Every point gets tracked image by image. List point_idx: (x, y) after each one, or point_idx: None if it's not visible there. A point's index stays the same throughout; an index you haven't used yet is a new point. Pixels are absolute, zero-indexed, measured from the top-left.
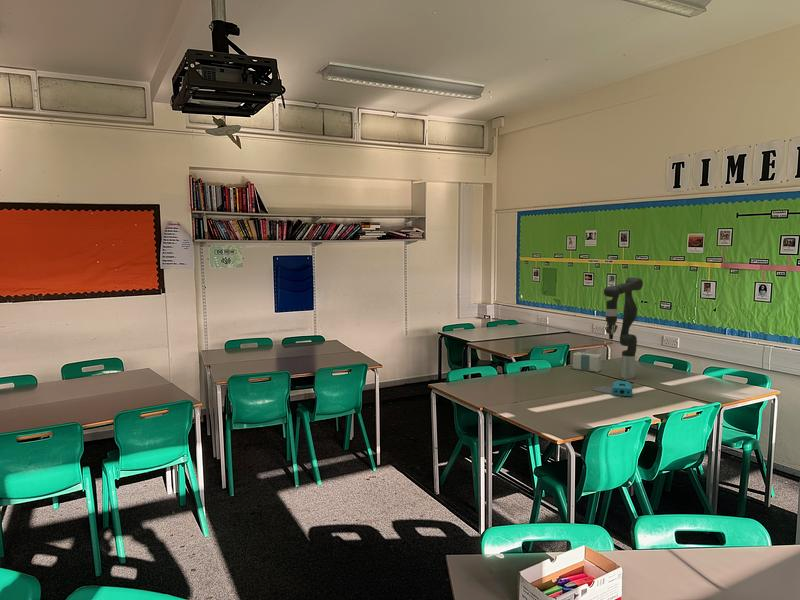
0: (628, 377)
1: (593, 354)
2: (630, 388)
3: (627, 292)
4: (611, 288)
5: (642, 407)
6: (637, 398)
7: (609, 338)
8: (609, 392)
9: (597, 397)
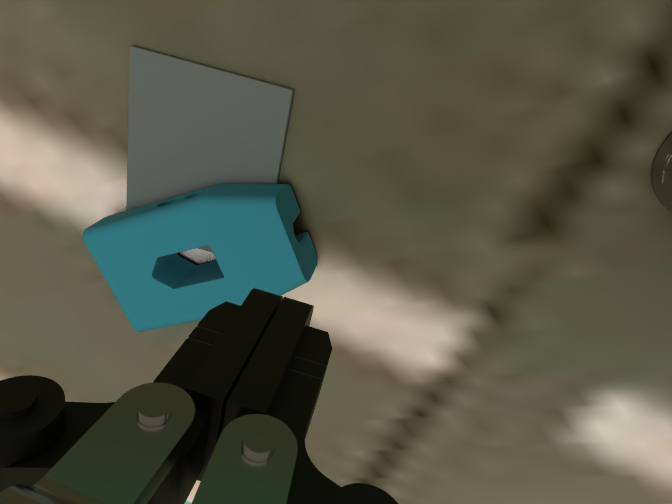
0: (658, 187)
1: None
2: (143, 326)
3: None
4: None
5: (50, 372)
6: (167, 332)
7: (250, 301)
8: (147, 182)
9: (18, 147)
